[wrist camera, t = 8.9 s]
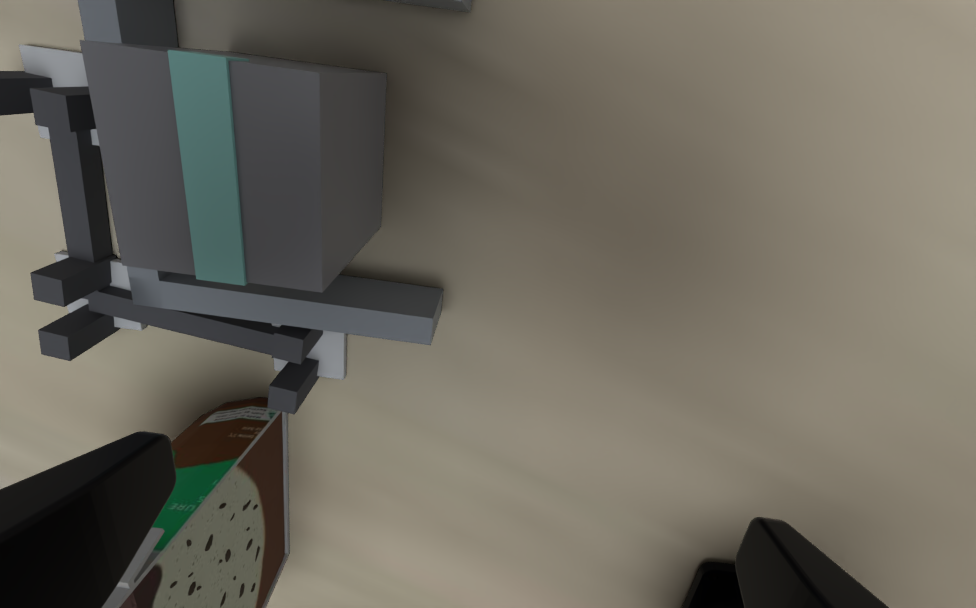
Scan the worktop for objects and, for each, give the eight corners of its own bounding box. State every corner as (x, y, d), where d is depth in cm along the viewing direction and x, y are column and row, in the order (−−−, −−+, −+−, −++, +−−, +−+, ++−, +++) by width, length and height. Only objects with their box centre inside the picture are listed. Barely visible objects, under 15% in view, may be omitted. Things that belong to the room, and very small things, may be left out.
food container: (136, 345, 21) (-164, 559, 12) (287, 369, 21) (106, 600, 12) (169, 555, 26) (-21, 818, 17) (289, 573, 26) (166, 844, 17)
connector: (381, 227, 18) (321, 295, 13) (241, 208, 18) (119, 269, 13) (387, 71, 16) (317, 70, 10) (228, 49, 16) (75, 37, 10)
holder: (441, 313, 19) (430, 345, 17) (178, 277, 19) (133, 304, 17) (474, -28, 15) (466, -46, 12) (130, -76, 15) (58, -103, 12)
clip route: (345, 380, 21) (324, 418, 18) (83, 344, 21) (29, 378, 18) (349, 89, 16) (321, 92, 14) (11, 42, 16) (-72, 37, 14)
